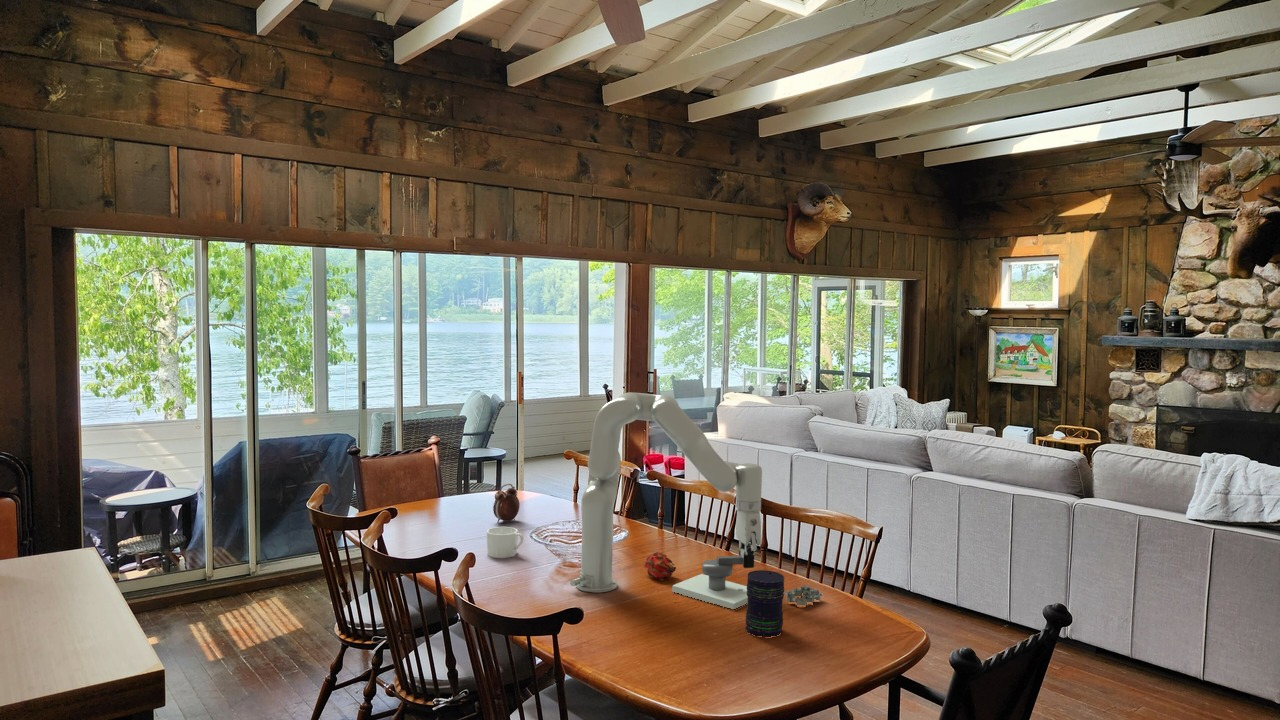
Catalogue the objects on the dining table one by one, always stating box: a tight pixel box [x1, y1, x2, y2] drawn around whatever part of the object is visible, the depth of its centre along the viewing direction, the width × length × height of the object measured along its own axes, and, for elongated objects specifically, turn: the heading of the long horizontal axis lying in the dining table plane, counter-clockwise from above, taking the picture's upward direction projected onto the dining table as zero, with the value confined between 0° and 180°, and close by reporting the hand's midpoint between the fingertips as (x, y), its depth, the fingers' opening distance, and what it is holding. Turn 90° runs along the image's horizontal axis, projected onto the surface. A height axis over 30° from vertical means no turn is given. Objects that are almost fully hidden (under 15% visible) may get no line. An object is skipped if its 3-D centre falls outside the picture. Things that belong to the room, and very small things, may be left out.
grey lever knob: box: [701, 549, 745, 577], centre depth 242 cm, size 15×9×6 cm, turn 100°
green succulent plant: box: [784, 584, 824, 606], centre depth 238 cm, size 11×8×4 cm
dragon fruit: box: [643, 551, 677, 581], centre depth 256 cm, size 8×8×12 cm
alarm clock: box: [492, 483, 520, 524], centre depth 318 cm, size 11×5×15 cm, turn 144°
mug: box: [486, 526, 525, 559], centre depth 276 cm, size 13×10×8 cm
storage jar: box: [745, 569, 785, 637], centre depth 215 cm, size 10×10×15 cm
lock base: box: [671, 573, 748, 610], centre depth 242 cm, size 15×22×6 cm
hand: (746, 564), depth 243 cm, fingers closed on grey lever knob, 3 cm apart
